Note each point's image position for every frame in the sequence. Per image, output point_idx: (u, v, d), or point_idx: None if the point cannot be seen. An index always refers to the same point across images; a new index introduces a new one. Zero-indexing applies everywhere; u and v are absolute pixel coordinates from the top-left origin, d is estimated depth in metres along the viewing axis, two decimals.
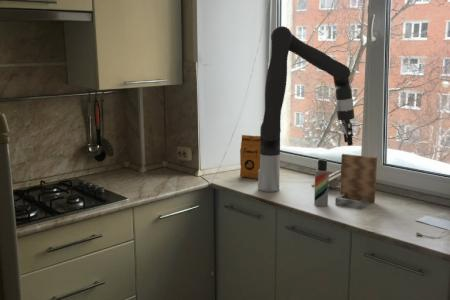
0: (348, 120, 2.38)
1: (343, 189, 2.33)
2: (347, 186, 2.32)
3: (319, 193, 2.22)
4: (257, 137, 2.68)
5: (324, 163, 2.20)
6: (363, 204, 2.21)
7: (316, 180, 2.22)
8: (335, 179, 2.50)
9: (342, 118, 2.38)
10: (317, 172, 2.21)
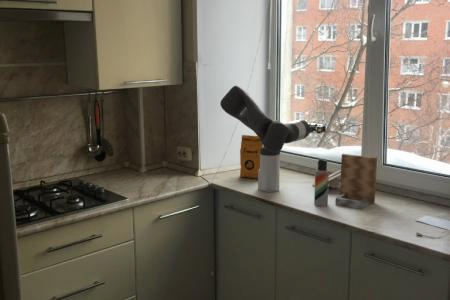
0: (310, 128, 1.98)
1: (343, 189, 2.33)
2: (347, 186, 2.32)
3: (319, 193, 2.22)
4: (257, 137, 2.68)
5: (324, 163, 2.20)
6: (363, 204, 2.21)
7: (316, 180, 2.22)
8: (335, 179, 2.50)
9: (307, 135, 1.98)
10: (317, 172, 2.21)
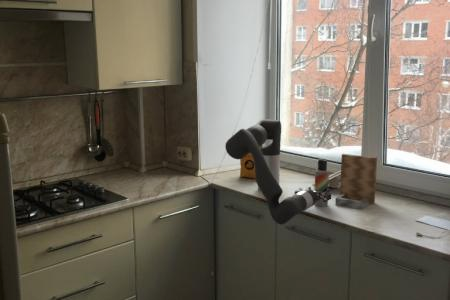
0: (317, 197, 2.10)
1: (343, 189, 2.33)
2: (347, 186, 2.32)
3: (319, 193, 2.22)
4: None
5: (324, 163, 2.20)
6: (363, 204, 2.21)
7: (316, 180, 2.22)
8: (335, 179, 2.51)
9: None
10: (317, 172, 2.21)
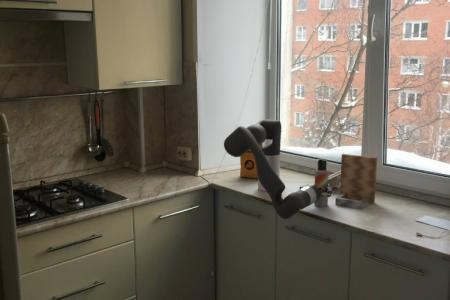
0: (320, 193, 2.14)
1: (343, 189, 2.33)
2: (347, 186, 2.32)
3: None
4: None
5: (324, 163, 2.21)
6: (363, 204, 2.21)
7: (316, 180, 2.22)
8: (335, 179, 2.51)
9: (318, 199, 2.14)
10: (317, 172, 2.21)
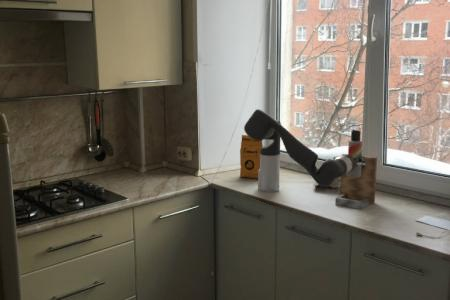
0: (356, 163, 2.13)
1: (343, 189, 2.33)
2: (347, 186, 2.32)
3: None
4: None
5: (358, 134, 2.20)
6: (363, 204, 2.21)
7: (350, 151, 2.22)
8: (335, 179, 2.51)
9: (353, 169, 2.13)
10: (351, 143, 2.21)
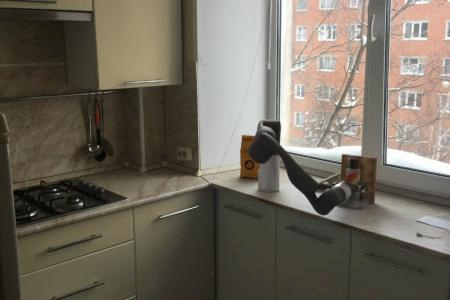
0: (354, 189, 2.16)
1: None
2: None
3: None
4: None
5: (356, 162, 2.23)
6: (363, 204, 2.21)
7: (348, 179, 2.24)
8: (335, 179, 2.51)
9: None
10: (349, 171, 2.23)
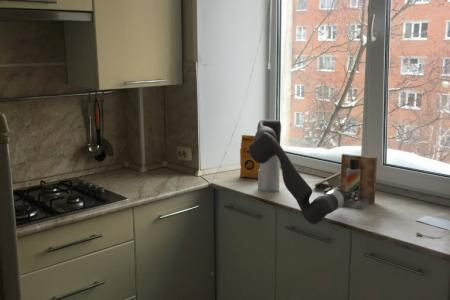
0: (347, 197, 2.08)
1: (343, 189, 2.33)
2: None
3: None
4: None
5: (356, 162, 2.22)
6: (363, 204, 2.21)
7: (348, 179, 2.24)
8: (335, 179, 2.51)
9: None
10: (349, 171, 2.23)
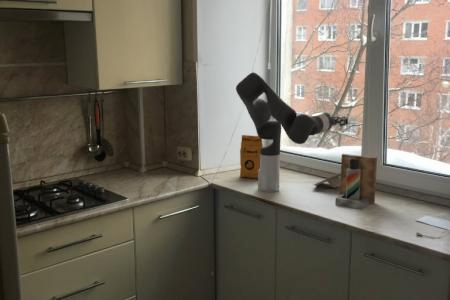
0: (333, 121, 2.01)
1: (343, 189, 2.33)
2: None
3: (351, 192, 2.24)
4: (257, 137, 2.68)
5: (356, 162, 2.22)
6: (363, 204, 2.21)
7: (348, 179, 2.24)
8: (335, 179, 2.51)
9: (330, 128, 2.01)
10: (349, 171, 2.23)
